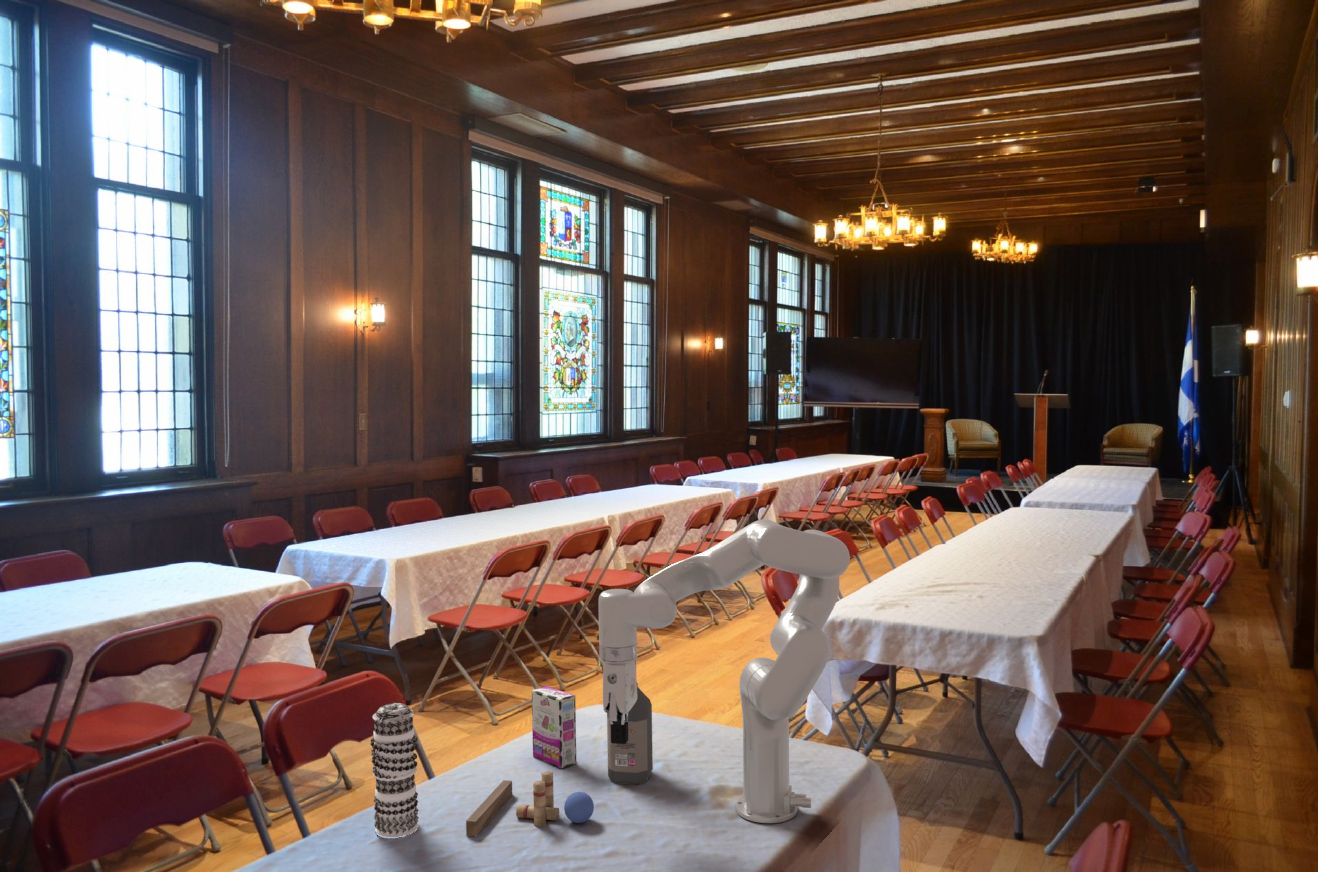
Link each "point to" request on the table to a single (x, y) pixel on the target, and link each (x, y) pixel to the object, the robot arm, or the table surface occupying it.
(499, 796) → the rail
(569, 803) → the ball
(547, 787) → the pin
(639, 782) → the liquor
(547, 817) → the front pin
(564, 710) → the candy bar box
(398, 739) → the decorative candle
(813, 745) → the table surface
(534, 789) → the pin
